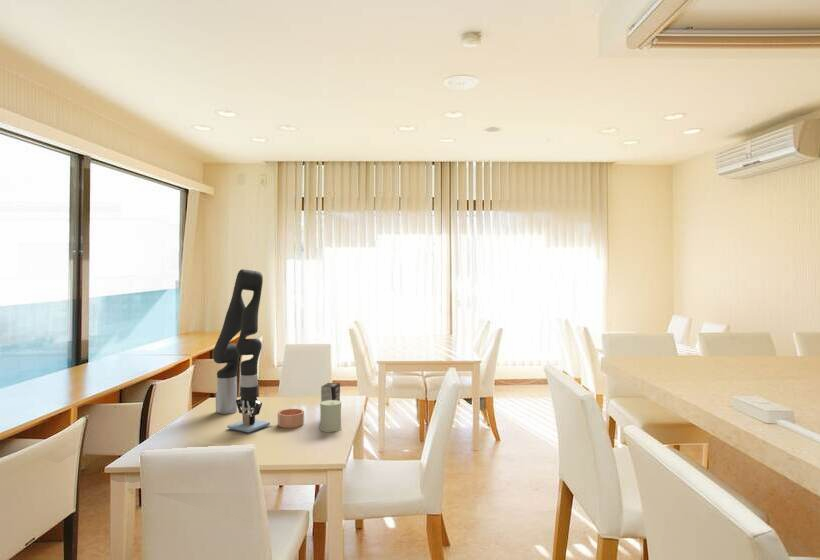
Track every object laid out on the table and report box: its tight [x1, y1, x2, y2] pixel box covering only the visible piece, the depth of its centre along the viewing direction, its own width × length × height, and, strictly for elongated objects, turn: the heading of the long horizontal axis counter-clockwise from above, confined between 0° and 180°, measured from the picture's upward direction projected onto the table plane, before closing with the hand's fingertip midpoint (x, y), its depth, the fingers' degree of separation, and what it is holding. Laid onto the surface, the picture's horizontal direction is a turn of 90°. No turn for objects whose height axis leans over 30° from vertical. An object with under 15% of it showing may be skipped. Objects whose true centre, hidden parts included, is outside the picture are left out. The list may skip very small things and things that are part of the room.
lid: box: [227, 411, 271, 432], centre depth 224 cm, size 12×12×6 cm
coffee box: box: [320, 382, 341, 403], centre depth 239 cm, size 9×6×16 cm
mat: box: [226, 424, 273, 436], centre depth 224 cm, size 14×14×1 cm
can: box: [319, 400, 342, 433], centre depth 224 cm, size 9×9×12 cm
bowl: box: [277, 408, 305, 429], centre depth 229 cm, size 11×11×6 cm
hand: (248, 423), depth 224 cm, fingers closed on lid, 3 cm apart
